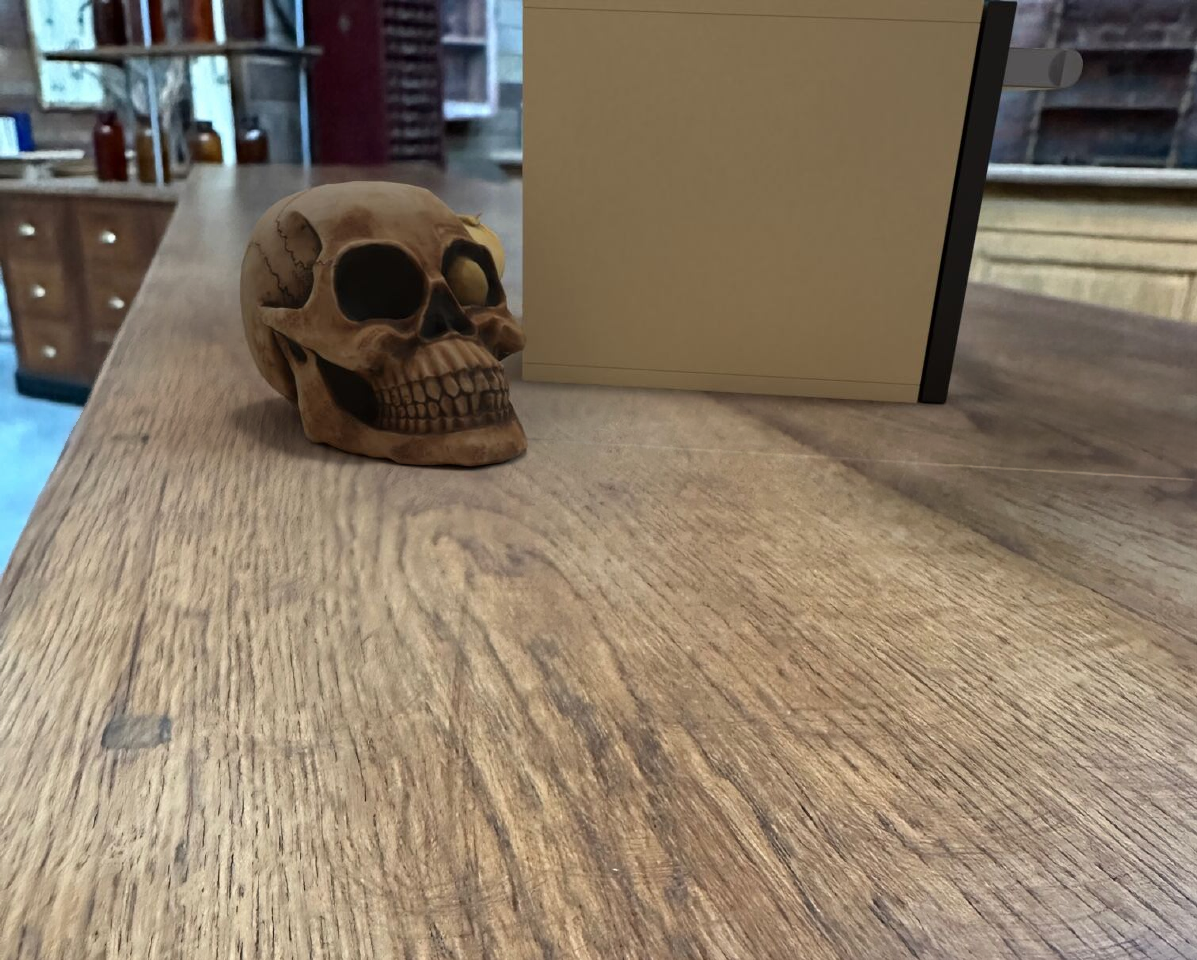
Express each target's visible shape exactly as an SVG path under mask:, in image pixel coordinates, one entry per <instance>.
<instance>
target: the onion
mask: <svg viewBox="0 0 1197 960" xmlns="http://www.w3.org/2000/svg"><path fill="white" fill-rule="evenodd" d="M455 214H456V215H457V216H458V218H459V219H460V221H461V222H462V223H463V225H464V226H465V228H466V229H467V231H468V232H469V233H470V235H471V236H472V238H473V240H475V241H476V242H478V243H479V244H482V245H485V246H488V248H489V249H490V250H491V252H492V255H493V258H494V261H495V264H496V268H497V271H498V276H499V280H500V281H501V280H502V279H503V277H504V274H505V269H506V255H505V250H504V247H503V244H502V242H501V240H500V238H499V236H498V235H497V234H496V232H495V231H493V229H491V228H490V227H488V226H487V225H486V224H484V223H482V222H481V221H480V220H479V218H480V216H481V215H483V214H484V211H481V212H479V213H477V214H476V215H471V214H459V213H455Z"/></svg>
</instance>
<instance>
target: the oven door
mask: <svg viewBox="0 0 1197 960" xmlns="http://www.w3.org/2000/svg"><path fill="white" fill-rule="evenodd" d="M1017 9H1018V1H1017V0H988V1H984V5H983V11H982V17H981V22H980V28H979V34H978V40H977V46H976V52H975V58H974V64H973V70H972V76H971V82H970V88H969V94H968V100H967V106H966V112H965V118H964V124H963V130H962V136H961V142H960V148H959V154H958V160H957V166H956V172H955V178H954V184H953V190H952V196H951V202H950V208H949V214H948V220H947V226H946V232H945V238H944V244H943V250H942V256H941V262H940V268H939V274H938V280H937V286H936V292H935V298H934V304H933V310H932V316H931V322H930V328H929V334H928V340H927V346H926V352H925V357H924V363H923V369H922V375H921V381H920V385H919V386H920V387H919V393H918V399H919V400H920V402H921V403H928V404H929V403H930V404H931V403H932V404H946V403H947V399H948V394H949V388H950V383H951V377H952V372H953V366H954V360H955V356H956V355H955V354H956V348H957V345H958V344H957V343H958V338H959V332H960V328H961V321H962V316H963V310H964V305H965V298H966V294H967V288H968V282H969V278H970V271H971V266H972V260H973V254H974V249H975V244H976V237H977V232H978V227H979V226H978V225H979V222H980V221H979V220H980V214H981V211H982V210H981V209H982V205H983V199H984V194H985V193H984V192H985V187H986V181H987V177H988V169H989V166H990V165H989V164H990V160H991V155H992V148H993V144H994V143H993V142H994V137H995V136H994V135H995V131H996V126H997V120H998V115H999V108H1000V103H1001V98H1002V92H1019V91H1023V92H1024V91H1039V90H1041V91H1042V90H1061V89H1062V90H1063V89H1067V88H1070V87H1072V86H1073V85H1074V84H1075V83H1077V81H1078V80H1079V79H1080V77H1081V75H1082V71H1083V68H1084V67H1083V66H1084V65H1083V59H1082V56H1081V54H1080V53H1079V52H1078V51H1076V49H1073V48H1058V47H1057V48H1055V47H1028V46H1027V47H1025V46H1011V41H1012V36H1013V32H1014V25H1015V19H1016V13H1017Z"/></svg>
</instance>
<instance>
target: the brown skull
mask: <svg viewBox="0 0 1197 960" xmlns="http://www.w3.org/2000/svg"><path fill="white" fill-rule="evenodd" d="M456 214H457V213H456V212H454V211H453V210H452V209H451V208H450V207H449V206H448V205H447V204H446V203H445V202H444V201H443V200H442V199H440V198H439V197H438V196H436V195H435V194H434V193H433V192H432V191H430V190H429V189H427V188H423V187H420V186H416V185H412V184H407V183H401V182H400V183H399V182H391V181H385V180H383V181H380V180H379V181H374V180H373V181H372V180H371V181H370V180H367V181H366V180H365V181H364V180H353V181H348V182H347V181H346V182H339V183H326V184H321V185H317V186H313V187H311V188H308V189H303V190H301V191H298V192H295V193H293V194H291V195H288V196H285V197H284V198H282V199H280V200H278V201H277V202H275V203H274V204H273V205H271V206H270V207H269V208H268V209H267V210H265V212H264V213H263V214H262V215H261V217H260V218H259V219H258V221H257V222H256V224H255V225H254V227H253V229H252V231H251V233H250V236H249V239H248V242H247V245H246V249H245V253H244V256H243V259H242V262H241V265H240V279H239V301H240V311H241V312H240V313H241V319H242V325H243V329H244V335H245V338H246V343H247V347H248V350H249V353H250V355H251V358H252V359H253V362H254V364H255V367H256V369H257V370H258V372H259V374H260V376H262V378H263V379H264V380H265V381H266V383H267V384H268V385H269V386H270V387H271V388H272V389H273V390H274V391H275V392H276V393H278V394H279V395H281V396H283V398H285V399H286V401H287V402H288V403H289V404H290V405H292V406H293V407H294V408H295V409H296V410H297V412H298V413H299V414H300V417H301V422H302V426H303V430H304V433H305V437H306V438H307V439H308V440H310V442H312V443H315V444H316V443H317V444H318V443H321V444H322V443H323V444H325V443H326V444H328V445H329V446H330V447H331V446H332V447H334V448H336V449H339V450H343V451H344V452H347V453H350V454H354V455H365V456H366V457H367V456H368V457H370V458H375V459H377V458H378V459H390V460H392V461H394V462H395V463H397V464H404V465H417V466H418V465H419V466H437V465H454V466H455V465H456V466H463V467H474V466H475V467H476V466H483V465H491V464H497V463H503V462H506V461H508V460H511V459H514V458H515V457H518V456H519V455H520V454H522V453H524V452H526V451H527V449H528V438H527V436H526V433H525V430H524V427H523V424H522V422H521V421H520V419H519V417H518V415H517V413H516V411H515V408H514V406H513V404H512V402H511V400H510V396H511V393H510V383H509V381H508V378H507V375H506V372H505V371H506V370H505V366H504V365H503V363H501V361H503V360H504V359H506V358H509V357H510V356H512V355H514V354H517V353H518V352H520V351H522V350H523V349H524V348H525V346H526V344H527V339H526V335H525V333H524V331H523V329H522V325H521V324H520V323H519V321H518V320H517V319H516V317H515V316H514V315H513V314H512V313H511V311H510V310H509V308H508V302H507V295H506V292H505V289H504V286H503V284H502V282H501V280H499V276H498V271H497V268H496V264H495V261H494V258H493V255H492V252H491V250H490V249H489V248H488V246H485V245H482V244H479V243H478V242H476V241H475V240H473V238H472V236H471V235H470V233H469V232H468V231H467V229H466V228H465V226H464V225H463V223H462V222H461V221H460V219H459V218H458V216H457V215H456Z"/></svg>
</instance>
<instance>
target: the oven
mask: <svg viewBox="0 0 1197 960" xmlns="http://www.w3.org/2000/svg"><path fill="white" fill-rule="evenodd" d="M521 1H522V160H521V161H522V170H521V171H522V172H521V173H522V174H521V175H522V178H521V179H522V181H521V182H522V193H521V194H522V195H521V197H522V207H521V208H522V210H521V211H522V214H521V215H522V218H521V219H522V221H521V222H522V234H521V235H522V241H521V242H522V245H521V246H522V248H521V249H522V251H521V252H522V253H521V255H522V261H521V262H522V269H521V271H522V273H521V274H522V275H521V276H522V277H521V279H522V280H521V283H522V285H521V286H522V289H521V290H522V291H521V292H522V293H521V294H522V296H521V297H522V299H521V300H522V301H521V302H522V303H521V305H522V311H521V312H522V313H521V315H522V316H521V317H522V318H521V319H522V321H521V322H522V325H521V327H522V329H523V331H524V333H525V335H526V339H527V344H526V346H525V348H524V349H523V350H521V351H522V359H521V360H522V367H521V369H522V375H521V376H522V381H525V382H526V381H527V382H544V383H548V382H549V383H559V384H560V383H562V384H564V383H565V384H580V385H595V384H599V385H598V386H615V387H629V388H630V387H631V388H632V387H633V388H647V389H648V388H650V389H665V388H666V390H667V389H668V390H681V391H682V390H683V391H684V390H685V391H699V392H700V391H701V392H702V391H703V392H719V393H738V394H753V395H771V396H787V397H788V396H789V397H807V398H826V399H841V400H857V401H858V400H862V401H876V402H893V403H909V404H910V403H911V404H917V403H918V400H919V397H918V393H919V387H920V386H919V385H920V381H921V375H922V369H923V363H924V357H925V352H926V346H927V340H928V334H929V328H930V322H931V316H932V310H933V304H934V298H935V292H936V286H937V280H938V274H939V268H940V262H941V256H942V250H943V244H944V238H945V232H946V226H947V220H948V214H949V208H950V202H951V196H952V190H953V184H954V178H955V172H956V166H957V160H958V154H959V148H960V142H961V136H962V130H963V124H964V118H965V112H966V106H967V100H968V94H969V88H970V82H971V76H972V70H973V64H974V58H975V52H976V46H977V40H978V34H979V28H980V22H981V17H982V11H983V5H984V3H985V0H521Z"/></svg>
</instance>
